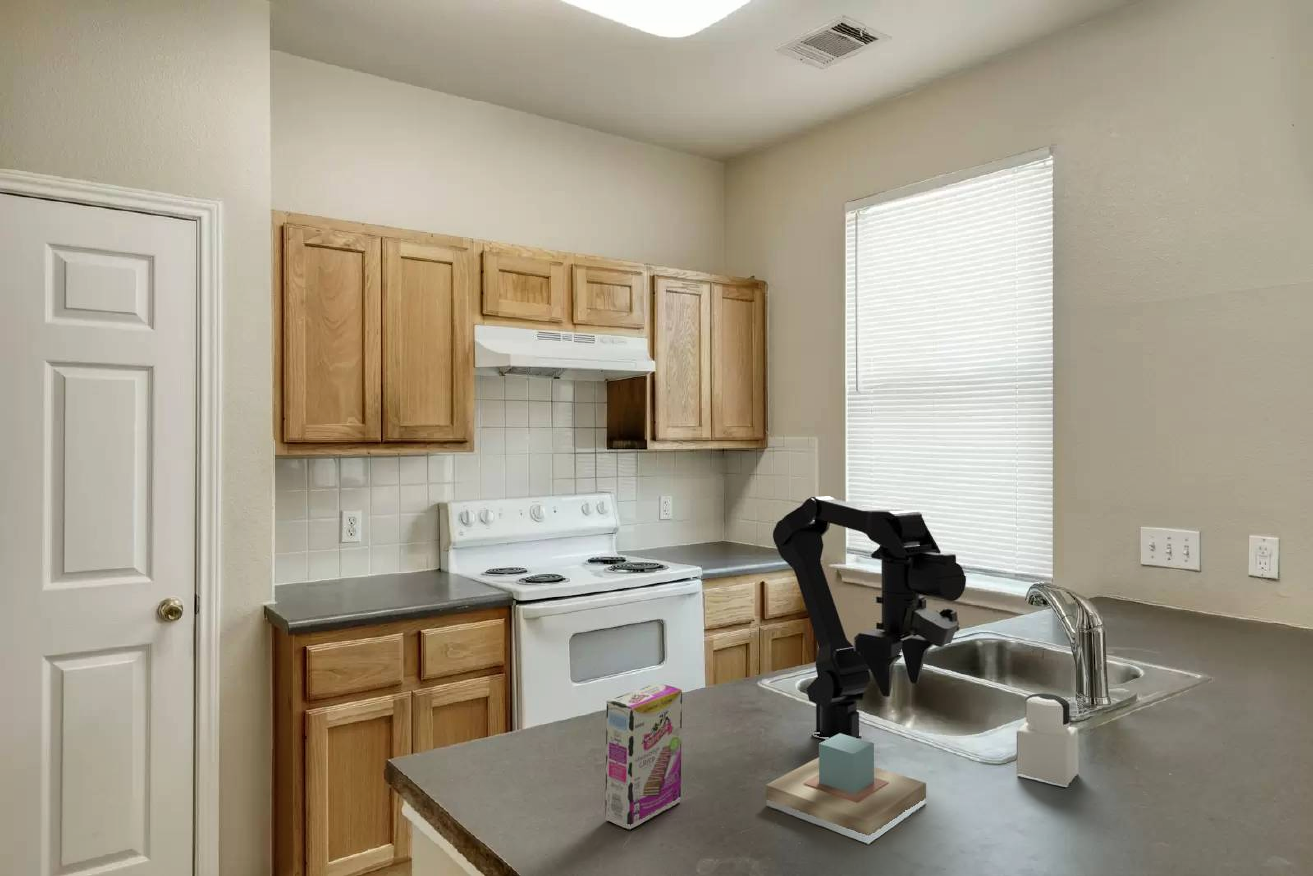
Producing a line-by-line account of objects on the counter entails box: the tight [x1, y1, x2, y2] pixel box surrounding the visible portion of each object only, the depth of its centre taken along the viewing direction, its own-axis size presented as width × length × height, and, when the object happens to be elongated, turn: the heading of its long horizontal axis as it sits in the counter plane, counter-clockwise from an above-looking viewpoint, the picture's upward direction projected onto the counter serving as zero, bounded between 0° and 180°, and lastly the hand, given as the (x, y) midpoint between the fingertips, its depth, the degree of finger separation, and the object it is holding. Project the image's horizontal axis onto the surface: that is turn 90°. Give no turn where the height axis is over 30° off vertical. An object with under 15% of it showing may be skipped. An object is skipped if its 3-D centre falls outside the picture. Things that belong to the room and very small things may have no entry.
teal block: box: [818, 733, 875, 794], centre depth 115 cm, size 6×6×6 cm
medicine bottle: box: [1016, 692, 1079, 786], centre depth 125 cm, size 7×7×12 cm
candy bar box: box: [604, 682, 683, 825], centre depth 113 cm, size 11×5×16 cm, turn 141°
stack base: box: [765, 756, 927, 836], centre depth 115 cm, size 16×16×3 cm
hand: (900, 689), depth 129 cm, fingers open, 9 cm apart
